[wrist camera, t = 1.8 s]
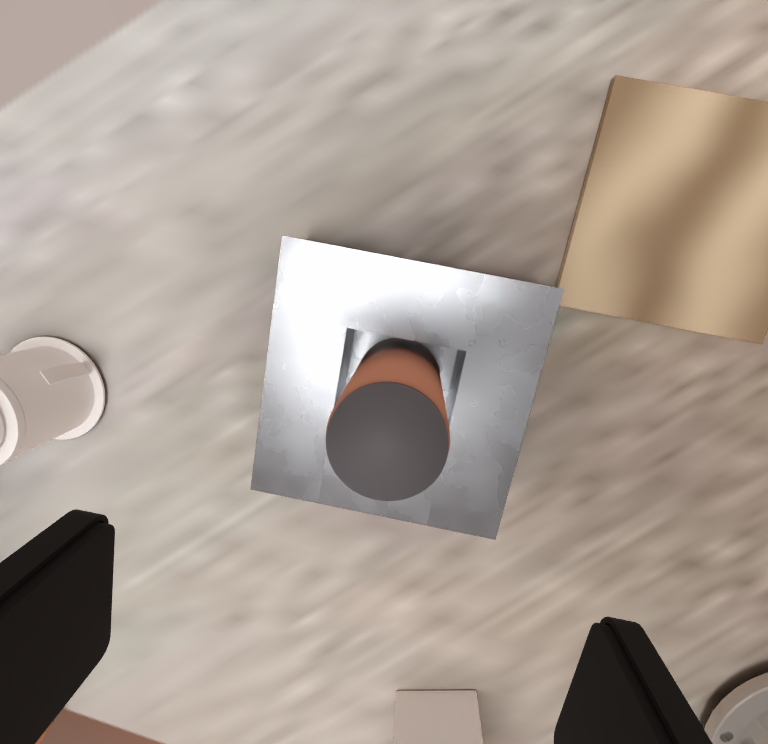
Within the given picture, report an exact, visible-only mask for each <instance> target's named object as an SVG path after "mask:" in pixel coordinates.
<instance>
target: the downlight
mask: <svg viewBox="0 0 768 744" xmlns="http://www.w3.org/2000/svg"><path fill="white" fill-rule="evenodd" d="M104 405H105V389H104V384H103V381H102V378H101V375H100V373H99V371H98V369H97V368H96V366H95V364H94V363H93V362H92V360H91V359H90V358H89V357H88V356H87V355H86V354H85V353H84V352H83V351H82V350H80V349H79V348H78V347H76V346H75V345H73V344H71V343H69V342H67V341H65V340H62V339H59V338H55V337H35V338H31V339H28V340H25V341H23V342H21V343H20V344H18V345H17V346H15V347H14V348H13V349H12V350H11V352H10V353H8V354H4V355H0V465H1V464H3V463H5V462H7V461H9V460H11V459H13V458H16V457H18V456H20V455H22V454H24V453H26V452H28V451H30V450H32V449H34V448H36V447H38V446H40V445H42V444H44V443H46V442H48V441H50V440H52V439H72V438H75V437H78V436H81V435H83V434H85V433H86V432H88V431H89V430H91V429H92V428H93V427H94V426H95V425H96V424H97V422H98V421H99V419H100V417H101V415H102V413H103V410H104Z"/></svg>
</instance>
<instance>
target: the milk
mask: <svg viewBox="0 0 768 744" xmlns="http://www.w3.org/2000/svg"><path fill="white" fill-rule="evenodd" d="M393 744H483V737H482V730H481V722H480V714H479V706H478V699H477V692H476V691H475V690H437V691H397V692H396V705H395V723H394V741H393Z"/></svg>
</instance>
